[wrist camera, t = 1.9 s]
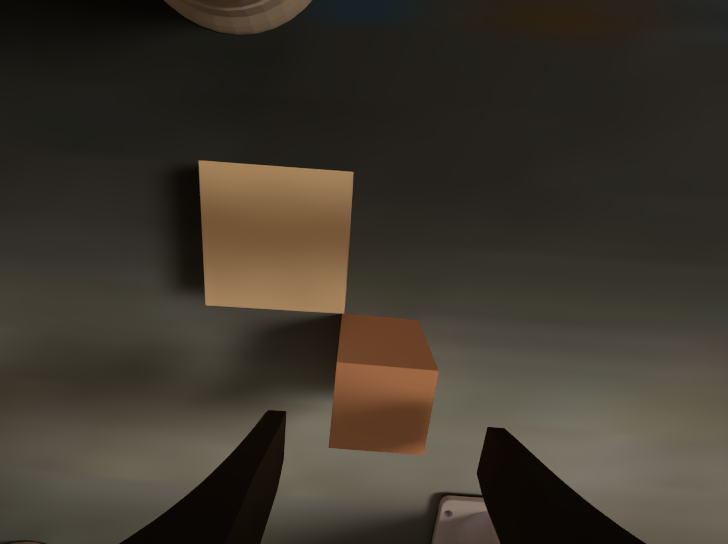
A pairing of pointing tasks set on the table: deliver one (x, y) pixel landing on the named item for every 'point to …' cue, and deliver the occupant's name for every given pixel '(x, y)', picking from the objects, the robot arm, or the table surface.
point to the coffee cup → (26, 542)
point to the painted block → (382, 386)
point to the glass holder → (239, 13)
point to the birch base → (275, 236)
